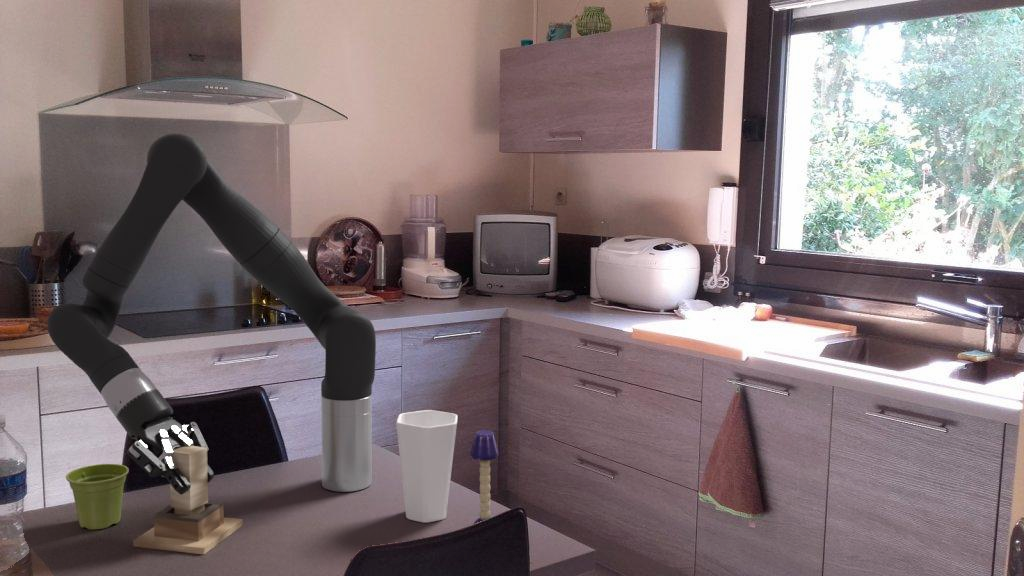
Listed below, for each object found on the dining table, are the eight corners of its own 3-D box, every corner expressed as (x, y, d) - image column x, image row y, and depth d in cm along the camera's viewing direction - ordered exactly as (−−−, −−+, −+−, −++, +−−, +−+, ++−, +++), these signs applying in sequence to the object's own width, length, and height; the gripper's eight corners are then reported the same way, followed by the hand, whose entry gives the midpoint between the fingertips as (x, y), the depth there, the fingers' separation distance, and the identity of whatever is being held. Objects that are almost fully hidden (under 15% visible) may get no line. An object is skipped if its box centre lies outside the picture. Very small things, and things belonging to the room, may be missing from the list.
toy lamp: (493, 536, 146) (495, 437, 144) (466, 534, 147) (467, 434, 145) (500, 525, 151) (502, 429, 149) (473, 523, 152) (474, 426, 150)
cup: (469, 511, 157) (471, 416, 155) (437, 531, 148) (438, 430, 146) (416, 499, 162) (416, 407, 160) (382, 518, 153) (382, 420, 151)
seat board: (177, 518, 151) (176, 492, 151) (242, 525, 149) (242, 498, 148) (133, 546, 140) (132, 518, 139) (204, 554, 137) (203, 526, 137)
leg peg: (189, 522, 147) (187, 445, 146) (208, 526, 145) (206, 447, 144) (171, 531, 143) (169, 451, 142) (191, 534, 142) (189, 454, 140)
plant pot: (65, 537, 143) (63, 484, 141) (70, 516, 151) (68, 466, 150) (129, 530, 146) (128, 478, 145) (131, 509, 155) (129, 461, 154)
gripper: (114, 398, 138) (179, 486, 135) (180, 379, 151) (241, 459, 148) (89, 428, 140) (152, 514, 137) (156, 407, 153) (215, 485, 150)
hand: (198, 485), depth 143 cm, fingers open, 4 cm apart
